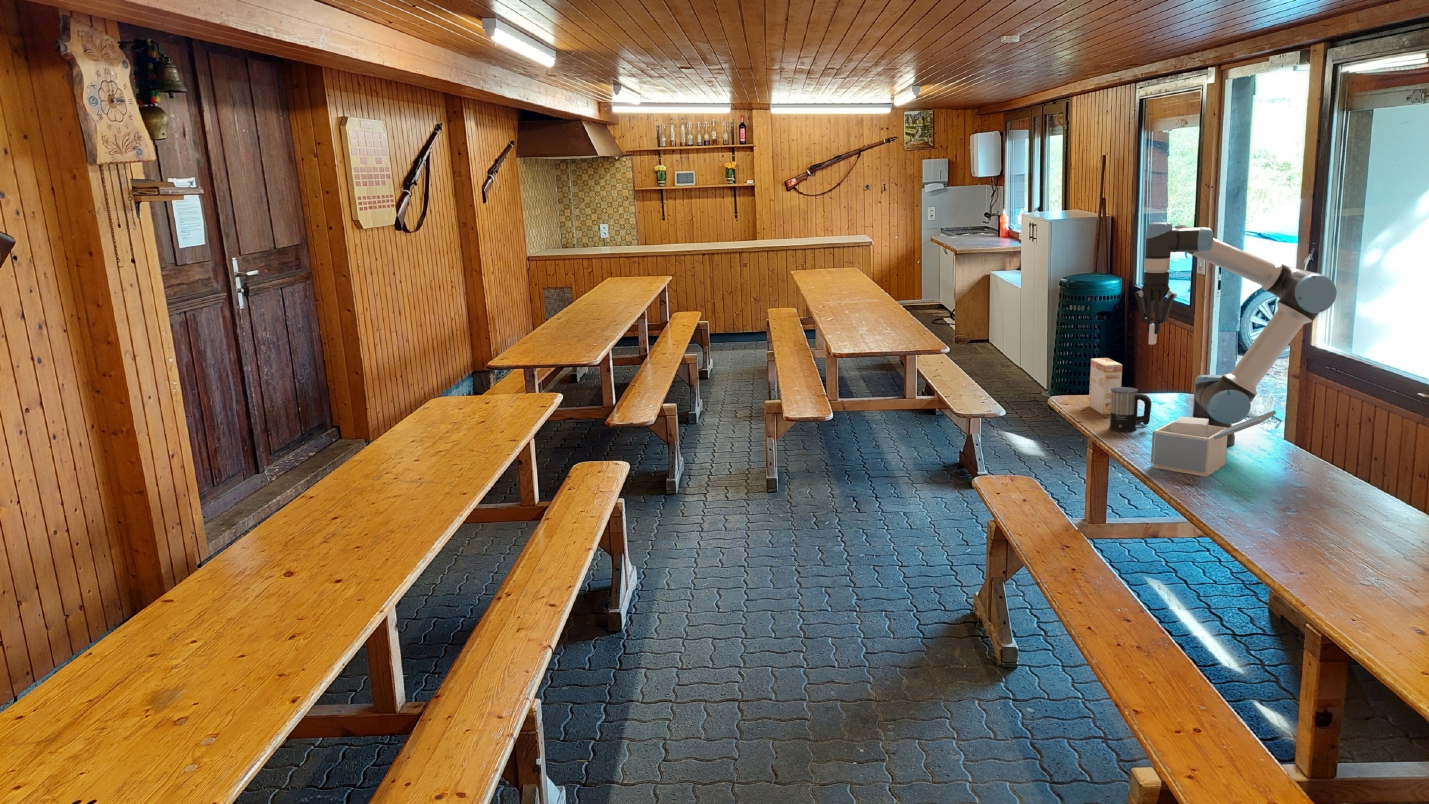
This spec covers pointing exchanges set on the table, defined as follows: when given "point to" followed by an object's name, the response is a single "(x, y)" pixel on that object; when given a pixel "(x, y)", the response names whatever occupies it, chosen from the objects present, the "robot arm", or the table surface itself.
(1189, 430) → the supplement box
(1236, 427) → the flap
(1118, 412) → the milk frother
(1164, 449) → the carton
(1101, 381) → the coffeecake box
